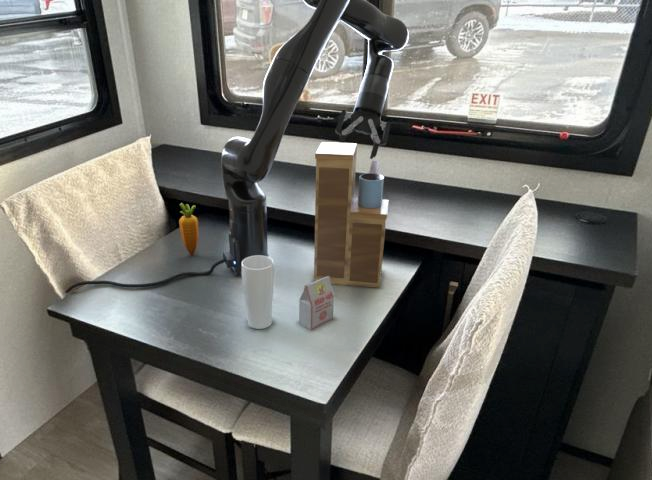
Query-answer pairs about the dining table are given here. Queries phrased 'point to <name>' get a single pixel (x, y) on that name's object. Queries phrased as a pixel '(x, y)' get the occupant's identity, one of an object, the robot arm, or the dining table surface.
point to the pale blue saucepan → (371, 188)
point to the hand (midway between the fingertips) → (356, 154)
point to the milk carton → (316, 303)
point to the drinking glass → (258, 290)
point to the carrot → (189, 229)
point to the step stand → (345, 222)
